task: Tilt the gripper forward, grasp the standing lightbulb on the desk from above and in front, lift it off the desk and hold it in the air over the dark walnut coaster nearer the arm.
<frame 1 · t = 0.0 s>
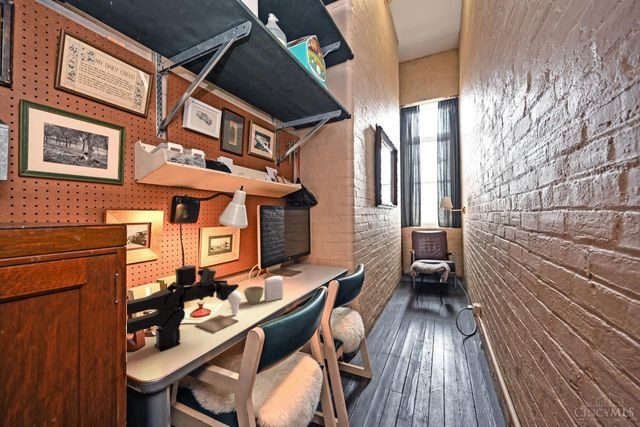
hand: (232, 283, 110), 17 cm above the table, tool horizontal, fingers open, 9 cm apart
flower pot: (253, 303, 133), on the table
lightbulb: (234, 315, 117), on the table
coaster: (217, 324, 108), on the table
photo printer: (273, 299, 138), on the table
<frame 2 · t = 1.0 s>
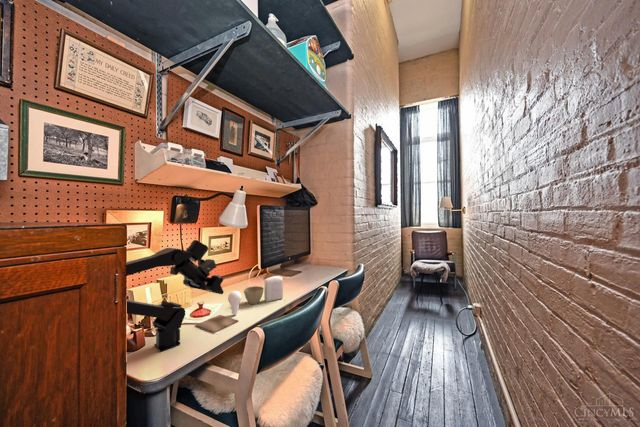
hand: (215, 291, 108), 14 cm above the table, tool tilted 45°, fingers open, 9 cm apart
nothing on the table moved.
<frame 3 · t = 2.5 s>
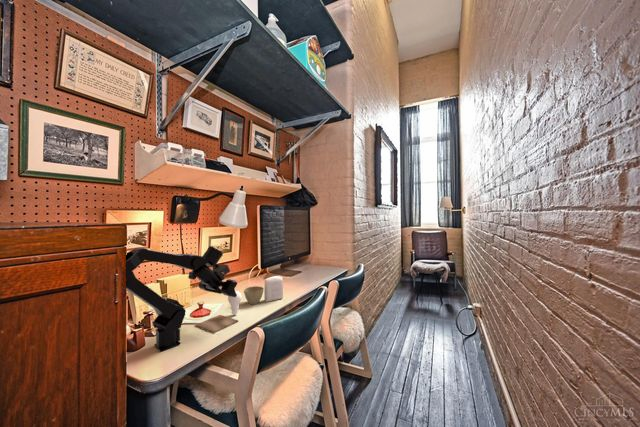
hand: (228, 294, 114), 10 cm above the table, tool tilted 45°, fingers open, 9 cm apart
nothing on the table moved.
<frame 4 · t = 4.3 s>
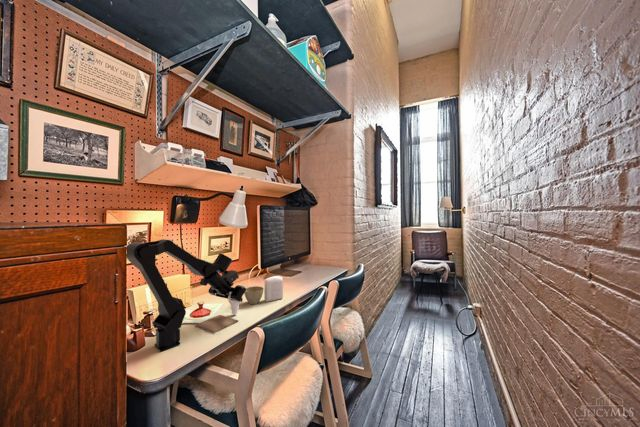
hand: (237, 299, 118), 7 cm above the table, tool tilted 45°, fingers closed on lightbulb, 6 cm apart
lightbulb: (234, 315, 117), on the table, touching gripper
everything else where it was.
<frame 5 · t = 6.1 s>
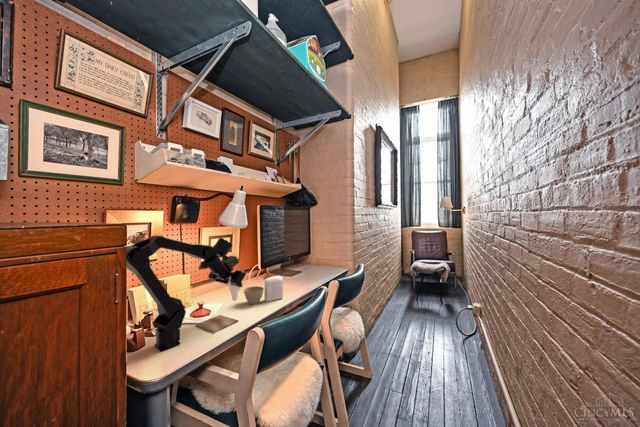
hand: (236, 285, 118), 13 cm above the table, tool tilted 45°, fingers closed on lightbulb, 6 cm apart
lightbulb: (235, 301, 117), point 6 cm above the table, touching gripper
everything else where it was.
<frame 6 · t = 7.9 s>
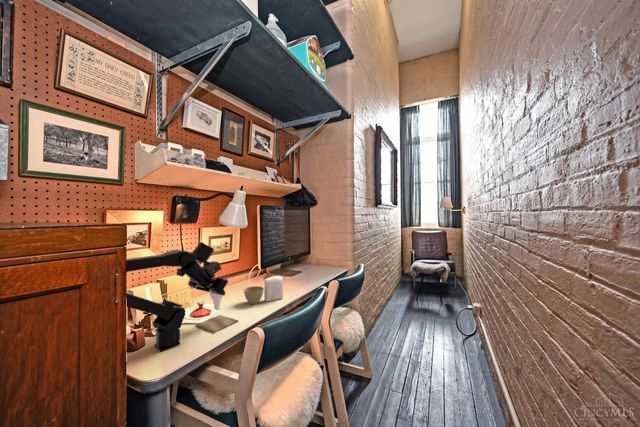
hand: (219, 293, 110), 12 cm above the table, tool tilted 45°, fingers closed on lightbulb, 6 cm apart
lightbulb: (217, 310, 108), point 5 cm above the table, touching gripper
everything else where it was.
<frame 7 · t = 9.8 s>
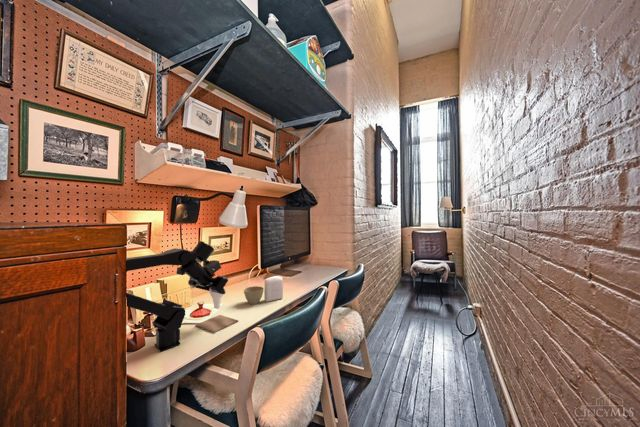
hand: (219, 292, 110), 13 cm above the table, tool tilted 45°, fingers closed on lightbulb, 6 cm apart
lightbulb: (217, 309, 108), point 6 cm above the table, touching gripper
everything else where it was.
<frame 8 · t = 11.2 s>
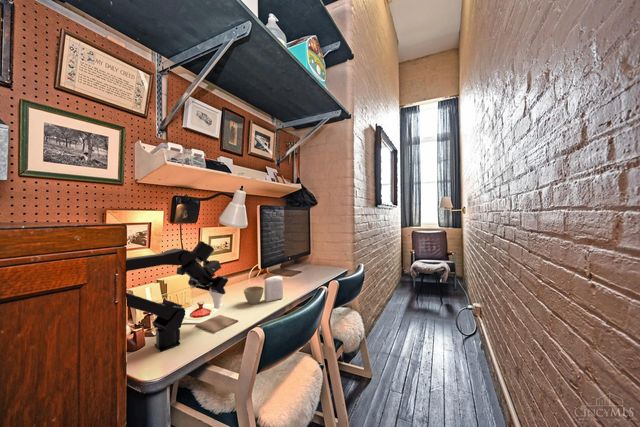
hand: (219, 292, 110), 13 cm above the table, tool tilted 45°, fingers closed on lightbulb, 6 cm apart
lightbulb: (217, 309, 108), point 6 cm above the table, touching gripper
everything else where it was.
at the end: the gripper is holding lightbulb; lightbulb point 5.9 cm above the table; lightbulb 0.8 cm from the coaster (horizontally) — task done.
